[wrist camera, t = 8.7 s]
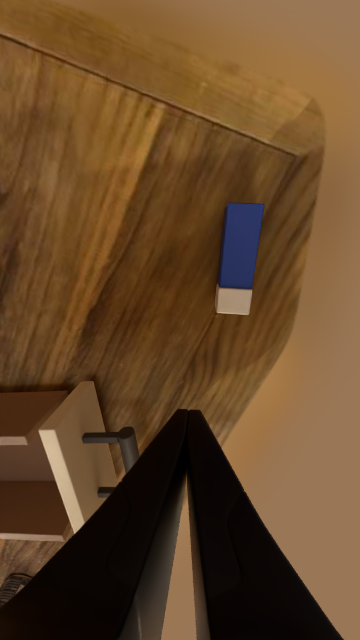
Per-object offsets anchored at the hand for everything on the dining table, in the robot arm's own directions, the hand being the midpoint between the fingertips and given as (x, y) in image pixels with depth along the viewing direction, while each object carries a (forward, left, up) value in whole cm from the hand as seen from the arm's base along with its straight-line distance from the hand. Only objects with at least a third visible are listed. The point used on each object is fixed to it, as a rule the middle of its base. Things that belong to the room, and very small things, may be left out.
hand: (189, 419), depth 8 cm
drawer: (+19, +6, -10) cm, 22 cm away
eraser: (-4, -4, -11) cm, 13 cm away
